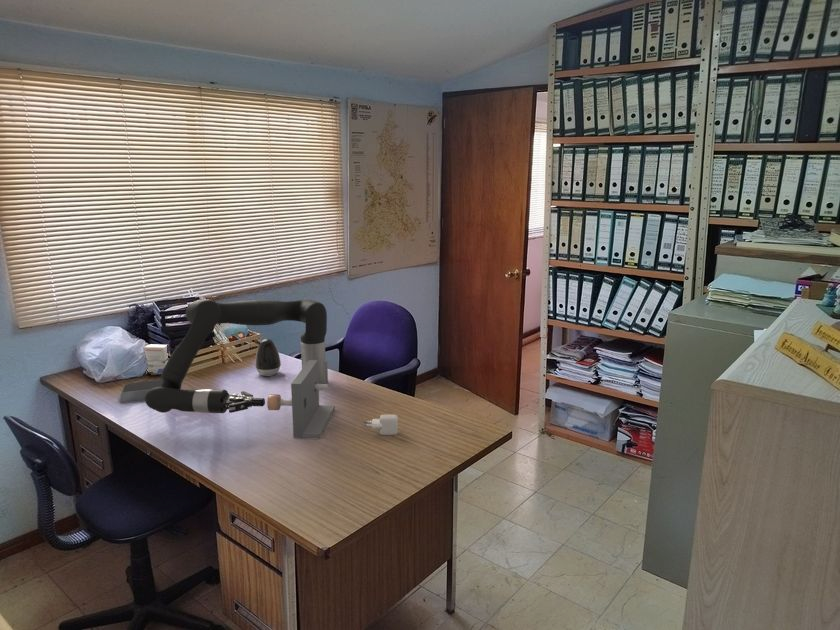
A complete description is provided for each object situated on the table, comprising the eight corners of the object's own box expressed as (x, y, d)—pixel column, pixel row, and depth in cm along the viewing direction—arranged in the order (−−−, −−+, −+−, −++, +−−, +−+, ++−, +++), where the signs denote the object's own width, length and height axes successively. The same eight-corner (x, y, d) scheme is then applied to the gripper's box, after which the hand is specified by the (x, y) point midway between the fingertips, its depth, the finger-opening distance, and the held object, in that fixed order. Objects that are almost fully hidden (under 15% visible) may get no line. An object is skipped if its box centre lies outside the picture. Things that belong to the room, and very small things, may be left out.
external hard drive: (177, 398, 222) (176, 388, 221) (119, 404, 216) (118, 393, 215) (179, 387, 234) (178, 377, 233) (124, 392, 228) (123, 382, 227)
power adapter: (362, 436, 190) (362, 419, 189) (363, 430, 195) (363, 413, 193) (398, 436, 190) (397, 419, 189) (398, 430, 195) (398, 413, 194)
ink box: (172, 371, 251) (169, 344, 248) (165, 375, 246) (163, 347, 243) (152, 370, 252) (149, 343, 249) (146, 374, 247) (143, 346, 244)
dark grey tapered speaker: (260, 369, 253) (258, 335, 250) (284, 370, 252) (282, 335, 249) (251, 377, 244) (249, 341, 240) (276, 378, 243) (274, 342, 239)
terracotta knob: (267, 412, 189) (266, 397, 188) (272, 406, 194) (271, 391, 193) (300, 413, 189) (299, 398, 187) (304, 407, 194) (303, 392, 192)
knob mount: (293, 438, 189) (291, 383, 184) (310, 408, 212) (308, 360, 208) (320, 438, 188) (318, 384, 184) (334, 409, 211) (333, 360, 207)
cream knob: (295, 395, 203) (294, 381, 202) (299, 390, 208) (298, 376, 207) (326, 396, 203) (325, 382, 202) (328, 391, 208) (328, 377, 207)
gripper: (201, 397, 185) (257, 398, 184) (217, 382, 198) (269, 384, 197) (203, 420, 186) (258, 421, 186) (219, 404, 199) (271, 405, 198)
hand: (264, 402), depth 191 cm, fingers closed
